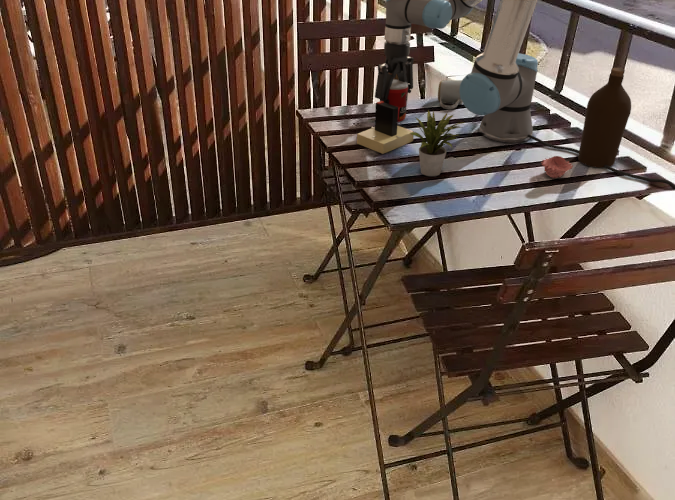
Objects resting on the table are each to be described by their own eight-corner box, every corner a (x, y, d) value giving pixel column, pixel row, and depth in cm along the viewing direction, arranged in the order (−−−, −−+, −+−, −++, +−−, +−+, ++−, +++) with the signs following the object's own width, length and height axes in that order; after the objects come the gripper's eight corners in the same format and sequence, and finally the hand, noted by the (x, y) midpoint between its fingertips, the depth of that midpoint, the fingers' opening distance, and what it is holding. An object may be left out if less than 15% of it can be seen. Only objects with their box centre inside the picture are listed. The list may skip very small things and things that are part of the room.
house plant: (445, 191, 160) (452, 128, 151) (394, 178, 165) (398, 117, 156) (465, 169, 170) (473, 110, 161) (417, 158, 176) (421, 100, 167)
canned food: (404, 123, 197) (406, 88, 191) (378, 121, 198) (379, 86, 193) (407, 114, 204) (409, 80, 198) (381, 112, 205) (383, 78, 199)
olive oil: (587, 170, 170) (610, 76, 157) (568, 154, 179) (588, 64, 166) (624, 167, 172) (649, 74, 159) (603, 151, 181) (625, 62, 167)
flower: (552, 167, 172) (556, 148, 169) (576, 178, 166) (581, 158, 163) (531, 174, 168) (535, 154, 165) (556, 186, 162) (560, 166, 159)
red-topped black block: (396, 134, 182) (398, 106, 178) (391, 136, 181) (393, 108, 176) (379, 128, 186) (381, 100, 181) (374, 130, 185) (375, 102, 180)
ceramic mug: (438, 97, 217) (441, 75, 213) (463, 100, 215) (466, 77, 211) (435, 109, 208) (437, 86, 204) (460, 111, 207) (463, 88, 202)
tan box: (383, 154, 178) (384, 143, 176) (355, 143, 184) (356, 132, 182) (414, 141, 186) (414, 131, 184) (386, 131, 192) (386, 121, 190)
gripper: (383, 50, 180) (379, 128, 192) (429, 37, 192) (423, 111, 205) (363, 45, 184) (361, 121, 197) (410, 32, 197) (405, 105, 209)
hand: (392, 116), depth 201 cm, fingers closed on canned food, 8 cm apart
